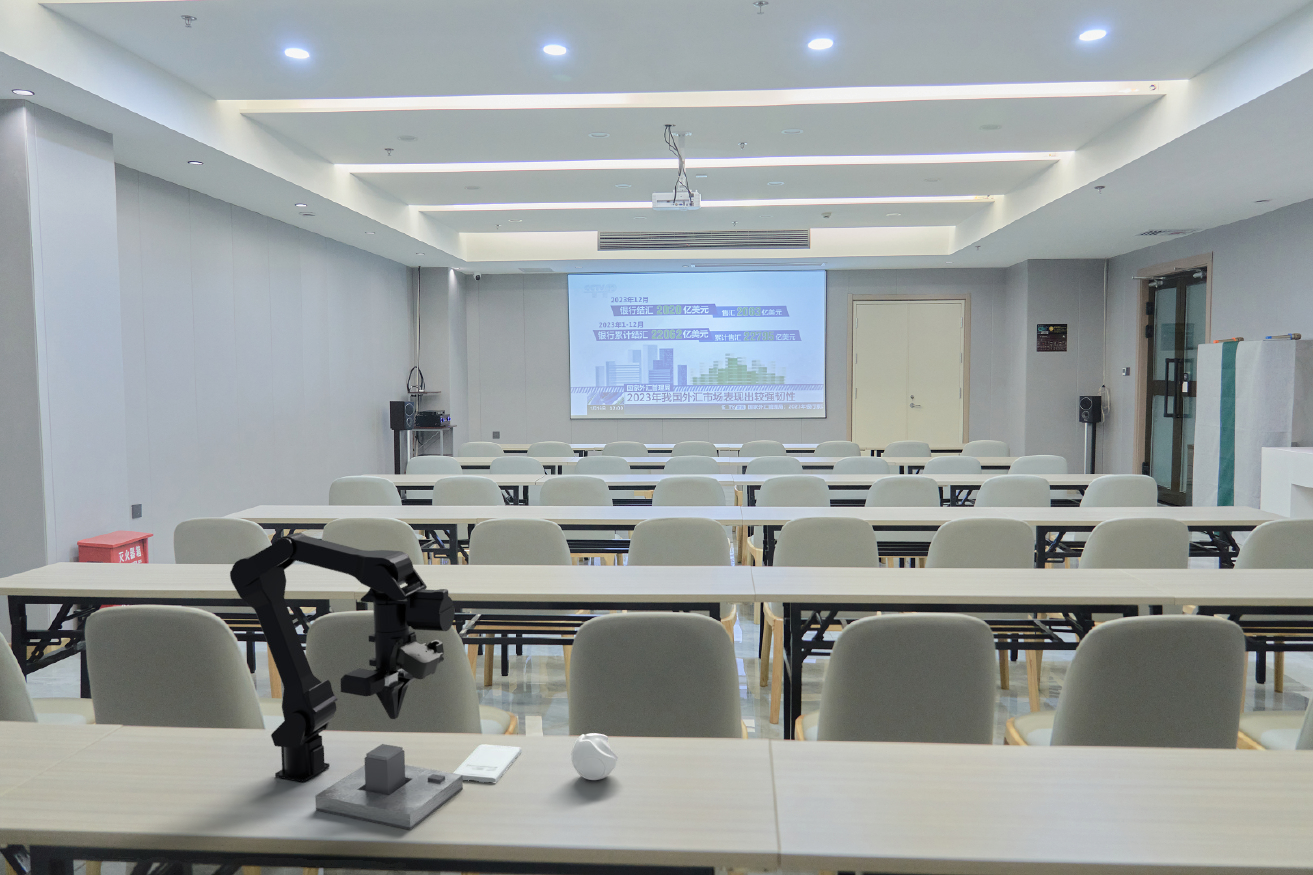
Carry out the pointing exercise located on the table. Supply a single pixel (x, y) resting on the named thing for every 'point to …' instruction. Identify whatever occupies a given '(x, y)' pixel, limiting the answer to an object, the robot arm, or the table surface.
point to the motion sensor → (593, 756)
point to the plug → (385, 769)
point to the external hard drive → (487, 762)
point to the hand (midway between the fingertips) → (393, 718)
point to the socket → (391, 797)
